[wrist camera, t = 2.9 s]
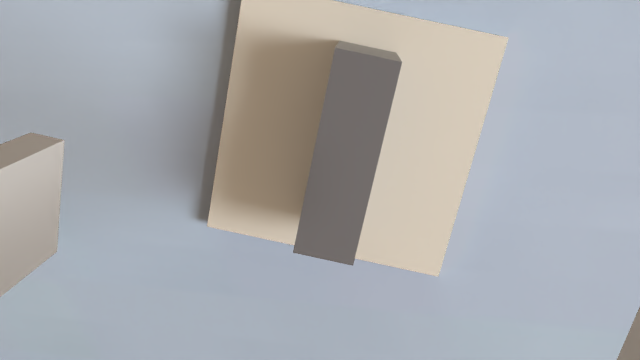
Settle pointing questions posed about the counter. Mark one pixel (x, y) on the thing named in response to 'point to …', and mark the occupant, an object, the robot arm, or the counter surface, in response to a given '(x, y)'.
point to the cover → (351, 130)
